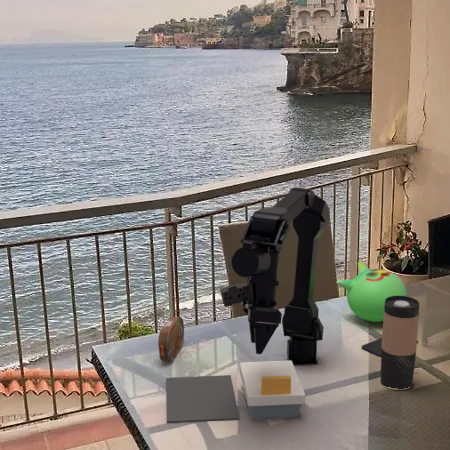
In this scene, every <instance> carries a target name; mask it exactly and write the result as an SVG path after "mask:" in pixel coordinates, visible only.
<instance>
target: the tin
mask: <svg viewBox="0 0 450 450" xmlns="http://www.w3.org/2000/svg"><path fill="white" fill-rule="evenodd" d="M184 325H185V324H184V320H183V317H181V316H171V317H169V318H168V319H167V321H166V322H165V323H164V325H163V326H162V328H161V330H160V331H159V335H158V341H157V345H158V352H159V353H158V354H159V359H160V361H161V362H168V363H169V362H171V363H173V362H174V361H175V359H176V358H177V355H178V354H179V353H180V351H181V350H182V347H183V344H184V341H185V340H184V339H185V337H184V336H185V326H184Z"/></svg>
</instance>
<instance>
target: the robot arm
mask: <svg viewBox="0 0 450 450" xmlns="http://www.w3.org/2000/svg"><path fill="white" fill-rule="evenodd" d="M330 211H331V210H330V207H329V206H328V203H327V202H326V200H324V199H323V198H321V197H319V196H318V195H317V194H316V193H315V191H314V190H313V189H310V188H306V187H304V188H303V187H296V186H295V187H292V188H290V189H289V190H288V193H287V194H286V195H285V196H284V197H282V198H281V199H280V200H278V202H276V203H275V204H274V205H273V206H271V207H265V208H260V209H257V210H254V212H253V214H252V215H251V216H250V217H249V220H248V222H247V224H246V227H245V229H244V231H243V234H242V236H241V239H240V243H241V244H242V247H240V248H238V249H237V250H236V251H234V254H233V255H232V257H231V260H230V261H231V262H230V263H231V266H232V270H233V271H234V272H235V274H236V275H237V276H240V277H242V278H246V279H245V280H246V282H242V283H237V284H233V285H229V286H225V287H223V288H220V289H219V293H220V296H221V299H222V304H223V306H224V308H229V307H232V306H233V305H236V304H241V308H242V310H243V312H244V313H245V314H246V316H247V321H248V325H249V327H248V328H249V336H250V343H251V344H254V345H255V354H257V355H262V354H263V352H264V350H265V349H266V347H267V345H268V343H269V342H270V340H271V338H272V337H273V334H274V333H275V332H276V330H277V328H278V327H279V325H280V324H282V331H283V337H289V339H287V340H286V355H287V359H288V361H292V363H293V365H294V366H299V365H303V366H304V365H318V364H319V360H318V359H317V352H318V351H317V350H318V349H317V348H318V347H317V346H318V342H319V341H323V337H324V329H325V328H324V325H323V323H322V321H321V319H320V318H319V307H318V306H317V305H318V304H317V303H316V301H315V300H314V289H315V278H316V269H317V267H316V265H317V255H318V246H319V245H318V244H319V238H320V237H321V235H322V234H323V233H324V231H326V228H327V225H328V224H327V223H328V222H329V219H330V215H331V212H330ZM291 222H292V225H291V226H292V228H293V230H294V232H295V234H296V236H297V239H298V240H297V247H296V248H297V249H296V260H295V273H294V285H293V295H292V296H293V297H292V298H291V300H290V302H289V303H288V304H287V305H285V307H284V312H283V314H282V312H281V311H280V310H279V308H278V307H277V300H276V296H277V287H279V284H280V281H279V280H278V276H279V268H280V266H279V265H280V260H281V259H280V256H281V252H282V251H283V246H282V245H284V242H285V241H286V239H287V236H288V235H289V233H290V230H291V226H290V224H291Z"/></svg>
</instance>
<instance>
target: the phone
mask: <svg viewBox="0 0 450 450" xmlns="http://www.w3.org/2000/svg"><path fill="white" fill-rule="evenodd" d="M418 343H419V341H418V340H417V344H418ZM381 346H382V337H380V338H378V339H375V340H372V341H370V342H367V343H364V344H362V345H361V350H363V351H364V352H367V353H370V354H371V355H373V356H376V357H379V358H381V348H382V347H381Z"/></svg>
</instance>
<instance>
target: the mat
mask: <svg viewBox="0 0 450 450" xmlns="http://www.w3.org/2000/svg"><path fill="white" fill-rule="evenodd" d="M165 388H166V392H165V393H166V401H165V402H166V404H165V405H166V424H175V423H176V424H178V423H179V424H180V423H197V422H199V423H200V422H214V421H215V422H216V421H218V422H220V421H222V422H224V421H240V413H239V410H238V405H237V399H236V394H235V390H234V386H233V380H232V375H230V374H228V375H223V374H222V375H221V374H220V375H206V376H205V375H203V376H202V375H201V376H199V375H198V376H179V377H178V376H175V377H166V378H165Z"/></svg>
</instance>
